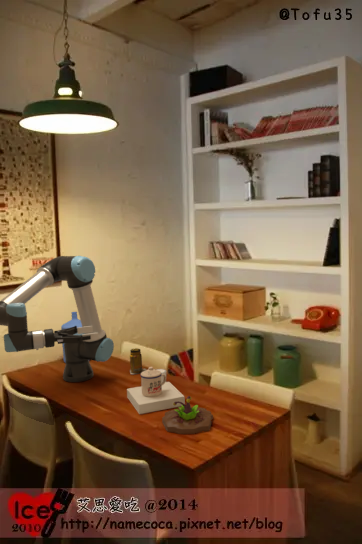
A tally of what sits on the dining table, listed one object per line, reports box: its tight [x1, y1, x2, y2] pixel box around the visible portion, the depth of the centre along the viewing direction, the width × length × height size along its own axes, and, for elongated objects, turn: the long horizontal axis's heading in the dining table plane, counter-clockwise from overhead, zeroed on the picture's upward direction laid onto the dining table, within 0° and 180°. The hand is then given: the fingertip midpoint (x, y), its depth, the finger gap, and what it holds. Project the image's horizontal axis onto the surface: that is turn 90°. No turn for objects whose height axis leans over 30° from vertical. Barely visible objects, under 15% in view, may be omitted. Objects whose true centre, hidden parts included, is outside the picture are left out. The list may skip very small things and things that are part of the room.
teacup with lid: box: [140, 366, 167, 397], centre depth 207 cm, size 12×9×12 cm
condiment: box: [129, 347, 147, 375], centre depth 248 cm, size 7×8×12 cm
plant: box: [161, 395, 214, 435], centre depth 185 cm, size 20×20×11 cm
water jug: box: [60, 311, 82, 364], centre depth 271 cm, size 16×16×28 cm
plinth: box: [126, 381, 186, 415], centre depth 208 cm, size 20×20×4 cm
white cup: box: [155, 368, 167, 383], centre depth 227 cm, size 7×7×7 cm
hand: (95, 332), depth 204 cm, fingers open, 13 cm apart
